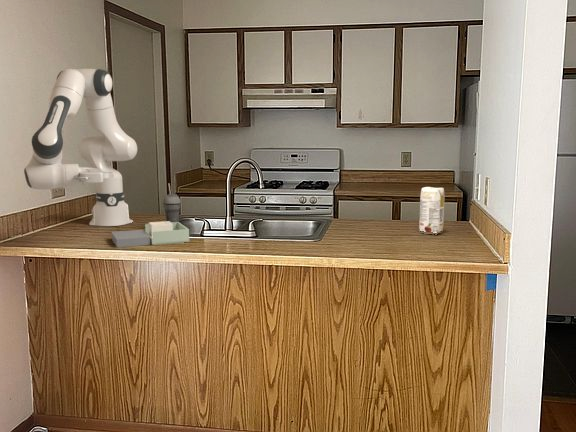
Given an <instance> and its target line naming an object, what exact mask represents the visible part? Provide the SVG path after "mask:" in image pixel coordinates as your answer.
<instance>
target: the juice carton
mask: <svg viewBox="0 0 576 432" xmlns="http://www.w3.org/2000/svg"><path fill="white" fill-rule="evenodd" d="M419 198H420V201H419V224H418V226H419V227H418V229H419V232H420V231H424V232H433V233H437V232H440V231H442V232H443V229H444V219H445V218H444V215H445V213H444V212H445V189H444V187H432V186H425V187H422V188H421V190H420V197H419Z"/></svg>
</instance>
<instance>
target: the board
mask: <svg viewBox="0 0 576 432" xmlns="http://www.w3.org/2000/svg"><path fill="white" fill-rule="evenodd" d="M111 240H112V242H113V244H114V245H115V247H116V248H126V247H139V246H140V247H142V246H150V245H151V243H150V236H149V235H148V234H147V233H146V232H145V230H144V229H134V230H133V229H132V230H120V231H119V230H118V231H117V230H116V231H111Z"/></svg>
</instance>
